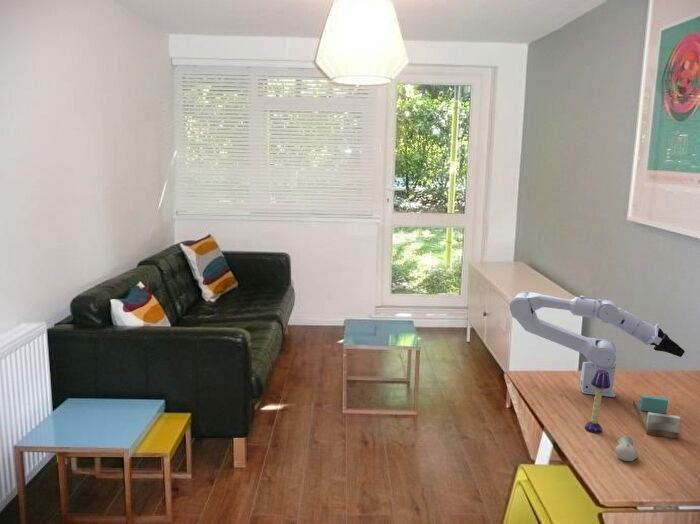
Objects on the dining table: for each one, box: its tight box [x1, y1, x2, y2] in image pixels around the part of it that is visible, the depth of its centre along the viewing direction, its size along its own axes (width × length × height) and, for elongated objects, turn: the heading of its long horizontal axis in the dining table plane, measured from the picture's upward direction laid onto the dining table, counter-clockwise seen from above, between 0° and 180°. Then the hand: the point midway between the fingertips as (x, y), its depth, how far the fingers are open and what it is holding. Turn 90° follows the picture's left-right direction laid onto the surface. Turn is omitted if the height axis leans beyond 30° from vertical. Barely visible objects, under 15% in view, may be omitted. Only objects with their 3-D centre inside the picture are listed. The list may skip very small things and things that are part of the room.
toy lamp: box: [584, 369, 610, 434], centre depth 155 cm, size 5×5×17 cm
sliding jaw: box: [639, 394, 669, 414], centre depth 164 cm, size 6×2×4 cm, turn 75°
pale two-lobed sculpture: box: [614, 435, 639, 462], centre depth 143 cm, size 4×8×5 cm
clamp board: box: [632, 399, 682, 439], centre depth 162 cm, size 8×19×6 cm, turn 165°
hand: (680, 351), depth 171 cm, fingers open, 7 cm apart
